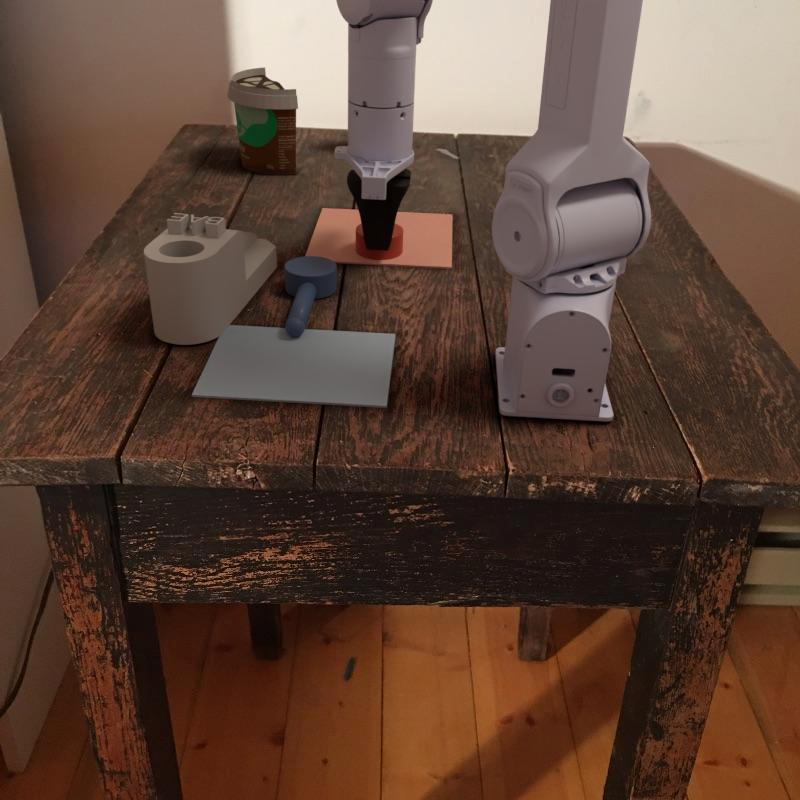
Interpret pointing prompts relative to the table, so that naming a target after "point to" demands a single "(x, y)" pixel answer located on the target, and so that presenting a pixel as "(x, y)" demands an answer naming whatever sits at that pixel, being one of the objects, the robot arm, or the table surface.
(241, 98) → the food container
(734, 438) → the table surface
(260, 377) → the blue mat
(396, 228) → the red spoon
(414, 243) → the rose mat
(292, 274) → the blue spoon
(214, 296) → the grey lettered holder
